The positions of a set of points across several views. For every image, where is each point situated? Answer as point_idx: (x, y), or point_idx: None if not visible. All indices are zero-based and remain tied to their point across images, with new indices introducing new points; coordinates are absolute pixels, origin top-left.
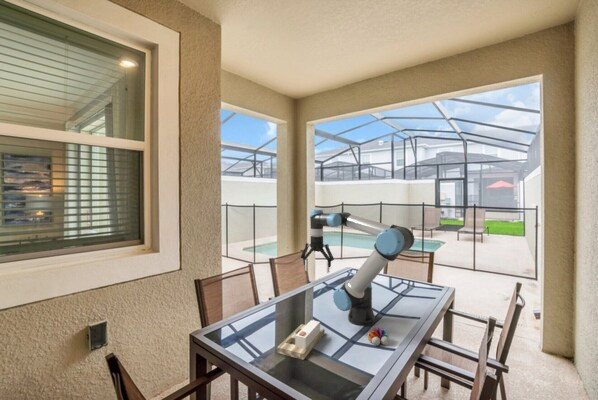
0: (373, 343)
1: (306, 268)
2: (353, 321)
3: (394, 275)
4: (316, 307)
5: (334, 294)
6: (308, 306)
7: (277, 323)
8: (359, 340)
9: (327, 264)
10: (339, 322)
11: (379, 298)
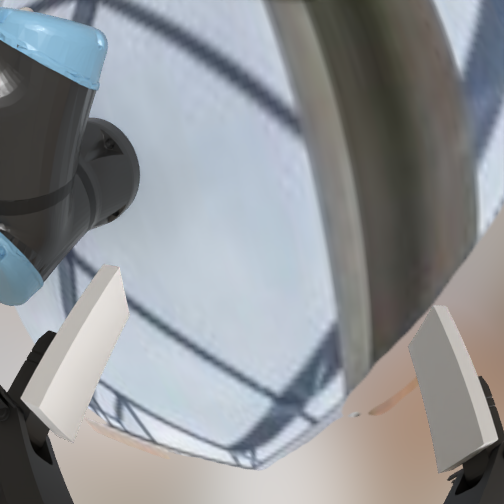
0: (29, 8)
1: (440, 334)
2: (101, 123)
3: (150, 445)
4: (308, 243)
5: (62, 19)
6: (347, 245)
7: (440, 40)
8: (69, 11)
9: (46, 361)
10: (162, 113)
11: (115, 349)
